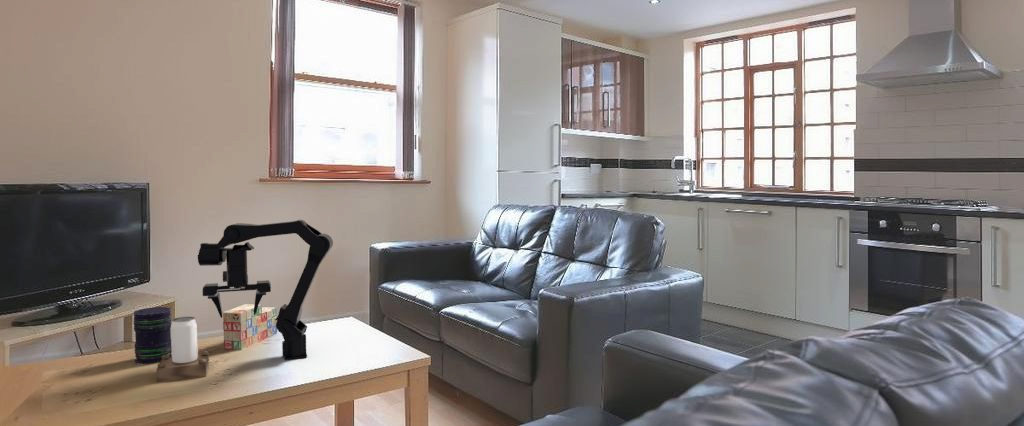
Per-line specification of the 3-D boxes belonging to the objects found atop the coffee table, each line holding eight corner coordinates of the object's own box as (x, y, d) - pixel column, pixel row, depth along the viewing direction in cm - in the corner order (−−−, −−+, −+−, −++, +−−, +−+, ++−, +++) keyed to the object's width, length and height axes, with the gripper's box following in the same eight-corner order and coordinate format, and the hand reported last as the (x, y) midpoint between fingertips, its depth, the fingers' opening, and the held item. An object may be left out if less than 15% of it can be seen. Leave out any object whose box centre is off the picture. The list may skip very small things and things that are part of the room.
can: (185, 356, 180) (183, 315, 179) (203, 358, 178) (201, 317, 178) (166, 362, 174) (165, 320, 173) (185, 365, 172) (183, 322, 171)
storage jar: (175, 353, 195) (173, 306, 194) (169, 362, 186) (167, 313, 185) (139, 356, 192) (137, 308, 191) (131, 365, 183) (129, 315, 182)
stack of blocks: (261, 332, 221) (260, 298, 220) (277, 333, 220) (276, 298, 219) (223, 349, 200) (222, 311, 199) (241, 350, 199) (240, 312, 198)
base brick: (209, 365, 183) (208, 350, 183) (206, 376, 174) (205, 360, 173) (162, 370, 178) (162, 355, 178) (157, 381, 169) (156, 365, 169)
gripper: (269, 260, 199) (270, 308, 201) (204, 263, 193) (206, 313, 194) (270, 265, 189) (271, 315, 190) (201, 268, 182) (203, 321, 183)
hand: (238, 316), depth 190 cm, fingers open, 9 cm apart
